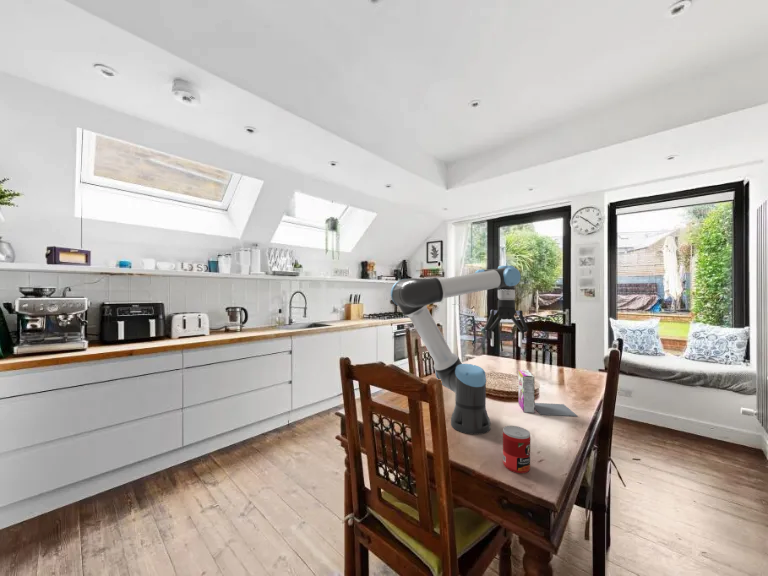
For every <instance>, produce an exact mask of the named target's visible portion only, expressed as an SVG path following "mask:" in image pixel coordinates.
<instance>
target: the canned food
mask: <svg viewBox="0 0 768 576" xmlns="http://www.w3.org/2000/svg"><path fill="white" fill-rule="evenodd" d="M502 463H503V466H504V467H505V468H506V469H507V470H508V471H510V472H513V473H516V474H527V473H528V472H529V471H530V470H531V432H530V431H529V430H528V429H526V428H524V427H521V426H517V425H507V426H504V427H503V428H502Z"/></svg>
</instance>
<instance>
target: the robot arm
mask: <svg viewBox="0 0 768 576" xmlns="http://www.w3.org/2000/svg"><path fill="white" fill-rule="evenodd" d="M521 277H522V276H521V272H520V271H519V269H518V268H516V267H515V266H513V265H499V266H498V267H497V268H491V269H484V268H482V269H477V270H476V271H474V272H473V273H469V274H463V275H457V276H452V277H446V278H438V277H430V278H402V279H399V280H397V281H396V282H395V283H394V284H393V285H392V287H391V289H390V299H391V300H392V302H393V303H394V304H395V305H396V306H398V307H399V309H400V311H401V313H402V314H403V316H405V317H408V318H409V320H410V321H411V323H412V324H413V326H414V328H415V330H416V332H417V334H418V335H419V337H420V338H421V341H422V342H423V345H424V346H425V347H426V350H427V351H428V353H429V355H430V357H431V358H432V360H433V362H434V364H433V369H434V371H435V372H434V373H435V377H436V379H437V378H438V379H441V381H442V384H441V385H442V386H443V387H445V388H447V389H448V390H450V391H452V392H454V393H455V405H454V409H453V411H452V413H451V416H450V426H451V428H453V429H454V430H456V431H457V432H460V433H463V434H469V435H482V434H485V433H486V434H487V433H488V432H489V431H490V430H491V421H490V420H491V419H490V417H489V414H488V411H487V408H486V403H487V401H486V400H487V399H486V398H487V397H486V396H487V394H486V393H487V392H486V391H487V389H486V388H487V376H486V372H485V370H484V368H482V367H481V366H479V365H476V364H471V363H462V361H461V359H460V358H459V356H458V354H457V353H454V352H452V350H451V349H450V347H449V345H448V343H447V342H446V340H445V337H444V336H443V334H442V332H441V331H440V329H439V327H438V324H437V323H436V322H435V320H434V318H433V316H432V315H431V312H430V310H429V308H428V306H429V305H432V304H436V303H440V302H442V301H443V300H444V299H448V298H453V297H457V296H462V295H468V294H472V293H476V292H482V291H487V290H492V289H497V299H498V300H497V309H495V310H494V309H491V310H489V311H490V314H489V317H488V318H487V322H486V323H485V327H484V330H485V331H487V332H488V339H490V346H491V347H494V346H495V345H494V344H495V342H494V341H495V340H494V339H495V337H494V335H495V333H494V331H493V330H495V328H496V327H497V325H498V324H499V322H500V321H502V320H508V321H509V320H510V321H512V322H513V323H514V325H515V326H516V327H517V329H518V330H519V331H518V347H519V348H523V340H525V333H526V332H529V327H528V325H527V322H526V320H525V317H524V316H523V314H524V312H523V310H516V300H515V299H516V286H517V285H518V284H519V282H521ZM496 314H497V315H498V316H497V317H496V319H495V321H494V322H492V321H493V319H494V316H495V315H496ZM515 316H518V318H519V321H520V322H521V324H520V323H519V322H518V320H517V319H516V317H515ZM438 379H437V380H438Z"/></svg>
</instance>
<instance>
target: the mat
mask: <svg viewBox="0 0 768 576" xmlns="http://www.w3.org/2000/svg"><path fill="white" fill-rule="evenodd" d="M535 410H536V411H537V412H538V414H539V415H541V416H553V417H554V416H559V417H573V418H574V417H575V418H576V417H579V416H578V415H577V413H575V412H574V411H572V410H571V409H570V408H569V407H568V406H567V405H565V404H564V403H544V402H543V403H542V402H535Z"/></svg>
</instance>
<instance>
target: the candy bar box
mask: <svg viewBox="0 0 768 576" xmlns="http://www.w3.org/2000/svg"><path fill="white" fill-rule="evenodd" d="M517 371H518V373H517V375H518V377H517V378H518V383H517V384H518V385H517V386H518V405H519V407H520V409H521V410H522V411H523V413H525V414H527V413H528V414H535V413H536V411H535V410H536V409H535V403H536V402H535V399H536V397H535V393H536V392H535V376H534V375H533V373H532V372H531V371H530V370H529V369H518V370H517Z"/></svg>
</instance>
